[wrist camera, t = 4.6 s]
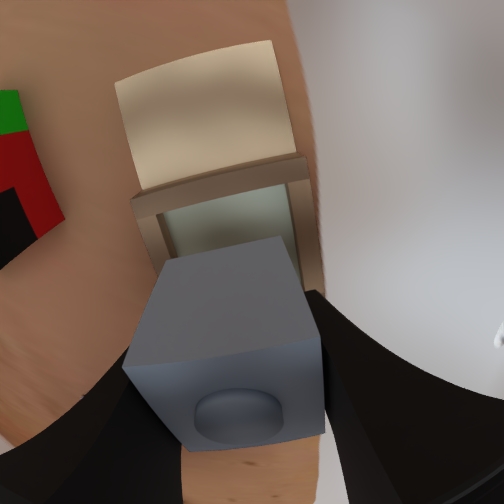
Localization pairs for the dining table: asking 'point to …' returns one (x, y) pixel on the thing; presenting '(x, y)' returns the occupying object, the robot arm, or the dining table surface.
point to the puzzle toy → (21, 184)
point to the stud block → (230, 350)
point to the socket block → (218, 158)
